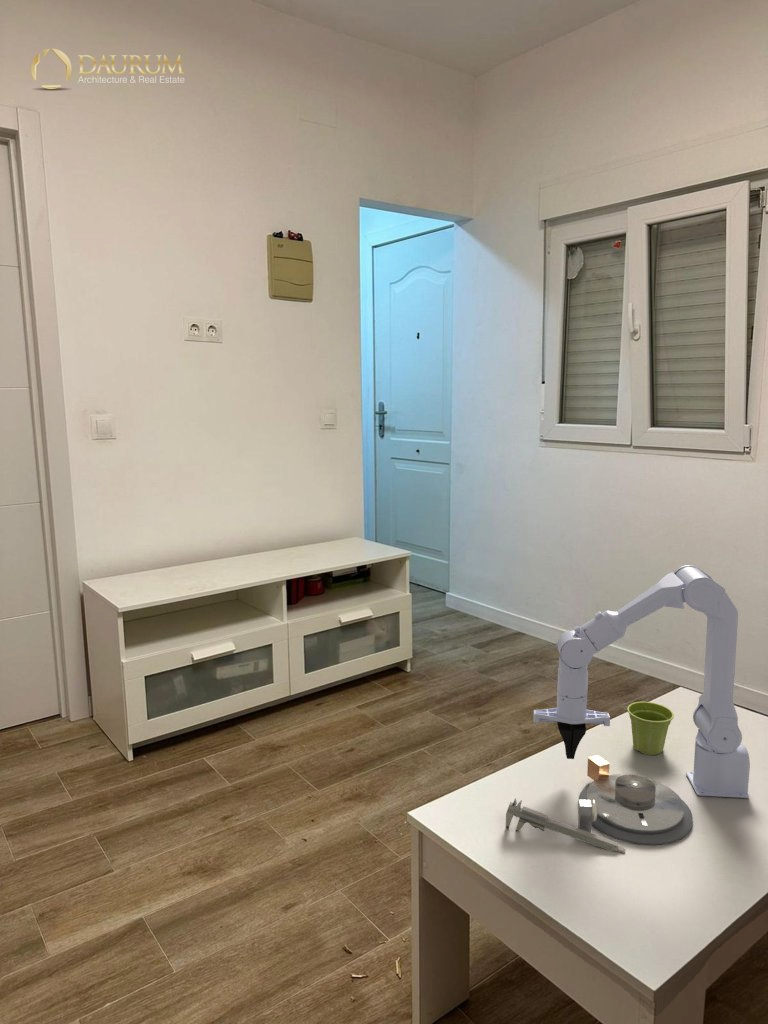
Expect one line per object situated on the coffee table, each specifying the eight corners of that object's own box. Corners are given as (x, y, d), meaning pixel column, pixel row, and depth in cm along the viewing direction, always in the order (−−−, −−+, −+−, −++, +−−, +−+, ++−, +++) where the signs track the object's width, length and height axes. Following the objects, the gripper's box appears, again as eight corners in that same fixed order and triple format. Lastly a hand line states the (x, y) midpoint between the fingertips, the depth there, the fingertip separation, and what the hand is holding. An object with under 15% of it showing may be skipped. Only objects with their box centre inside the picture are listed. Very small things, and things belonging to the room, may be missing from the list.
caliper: (505, 831, 130) (505, 799, 129) (506, 827, 131) (507, 796, 130) (625, 855, 123) (626, 821, 122) (625, 851, 124) (627, 818, 123)
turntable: (666, 776, 144) (667, 758, 144) (695, 836, 125) (697, 816, 125) (578, 771, 146) (579, 754, 146) (594, 831, 127) (595, 811, 127)
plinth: (675, 784, 143) (675, 780, 143) (707, 848, 124) (707, 844, 124) (571, 779, 146) (571, 775, 146) (586, 841, 126) (587, 837, 126)
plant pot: (664, 738, 162) (666, 702, 160) (677, 760, 152) (679, 722, 151) (621, 737, 162) (623, 700, 161) (631, 758, 153) (633, 720, 152)
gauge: (593, 825, 131) (594, 795, 130) (596, 837, 127) (597, 806, 126) (577, 824, 131) (578, 794, 130) (580, 837, 128) (581, 806, 127)
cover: (650, 790, 137) (651, 775, 137) (658, 812, 130) (659, 796, 130) (612, 787, 138) (612, 772, 138) (618, 809, 131) (618, 793, 131)
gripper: (606, 685, 145) (603, 748, 148) (532, 682, 147) (531, 744, 150) (613, 700, 138) (610, 766, 141) (535, 697, 140) (534, 762, 143)
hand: (569, 756), depth 145 cm, fingers closed
